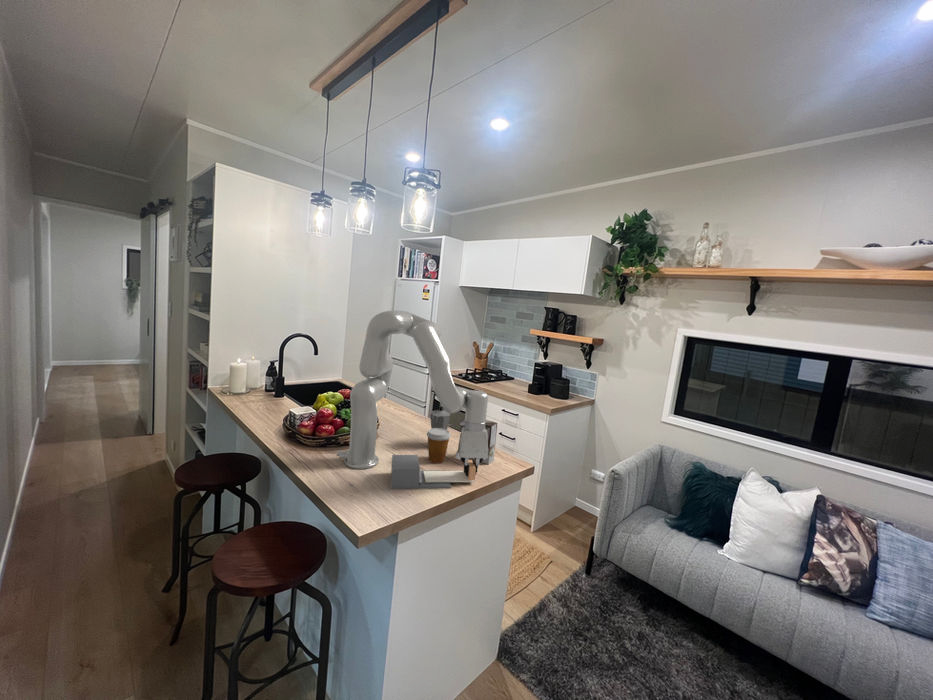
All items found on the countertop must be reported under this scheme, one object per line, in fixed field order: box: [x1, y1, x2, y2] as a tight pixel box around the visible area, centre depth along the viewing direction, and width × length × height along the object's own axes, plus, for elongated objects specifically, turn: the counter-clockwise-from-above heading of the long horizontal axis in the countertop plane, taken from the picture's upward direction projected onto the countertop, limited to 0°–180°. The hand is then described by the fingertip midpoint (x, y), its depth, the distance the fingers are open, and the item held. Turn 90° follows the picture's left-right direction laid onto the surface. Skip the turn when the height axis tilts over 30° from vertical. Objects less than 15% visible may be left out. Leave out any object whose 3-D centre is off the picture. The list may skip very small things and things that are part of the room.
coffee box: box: [469, 419, 498, 465], centre depth 154 cm, size 9×6×16 cm
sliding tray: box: [424, 459, 477, 483], centre depth 133 cm, size 18×8×5 cm, turn 102°
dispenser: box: [390, 454, 452, 490], centre depth 131 cm, size 20×12×7 cm, turn 102°
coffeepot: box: [429, 406, 452, 448], centre depth 165 cm, size 15×9×18 cm, turn 159°
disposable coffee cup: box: [426, 428, 452, 464], centre depth 149 cm, size 10×10×12 cm
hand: (470, 474), depth 135 cm, fingers closed on sliding tray, 2 cm apart
